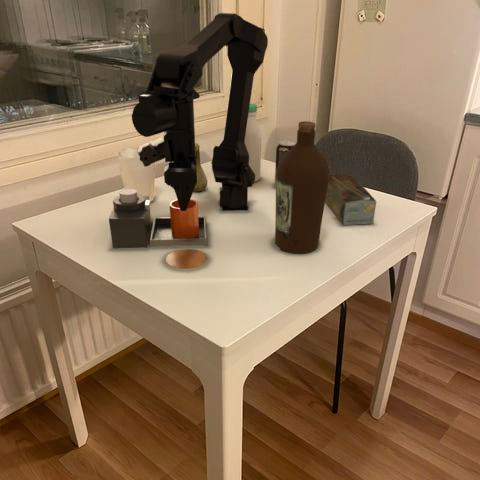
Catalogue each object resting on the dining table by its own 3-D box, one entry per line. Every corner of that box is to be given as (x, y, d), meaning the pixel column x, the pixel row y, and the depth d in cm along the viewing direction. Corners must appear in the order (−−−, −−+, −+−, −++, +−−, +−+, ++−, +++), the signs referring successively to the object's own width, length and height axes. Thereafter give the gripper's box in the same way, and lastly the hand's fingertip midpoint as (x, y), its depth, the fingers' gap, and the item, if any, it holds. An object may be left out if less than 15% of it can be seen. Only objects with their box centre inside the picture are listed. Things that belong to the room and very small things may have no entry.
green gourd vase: (194, 185, 135) (193, 141, 129) (211, 187, 134) (210, 142, 127) (186, 192, 131) (183, 146, 124) (202, 194, 130) (201, 148, 123)
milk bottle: (263, 176, 143) (266, 103, 132) (255, 184, 137) (257, 108, 126) (238, 173, 145) (239, 100, 134) (229, 181, 139) (229, 106, 128)
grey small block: (150, 208, 105) (149, 200, 104) (149, 213, 103) (148, 204, 102) (146, 208, 105) (146, 200, 104) (145, 213, 103) (144, 204, 102)
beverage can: (288, 181, 139) (291, 138, 132) (298, 188, 135) (302, 143, 128) (270, 184, 137) (273, 140, 130) (280, 191, 133) (283, 146, 126)
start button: (138, 197, 104) (137, 188, 103) (136, 204, 101) (135, 194, 100) (121, 198, 104) (120, 188, 103) (119, 204, 101) (118, 194, 100)
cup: (161, 194, 129) (158, 148, 122) (153, 206, 122) (149, 158, 115) (128, 192, 130) (123, 146, 123) (118, 205, 122) (112, 157, 116)
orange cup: (198, 228, 111) (197, 198, 107) (198, 239, 106) (197, 208, 102) (172, 228, 110) (170, 198, 106) (171, 239, 105) (169, 209, 101)
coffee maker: (151, 224, 113) (148, 188, 108) (146, 249, 102) (142, 210, 97) (121, 224, 112) (116, 189, 108) (113, 249, 102) (107, 211, 97)
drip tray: (206, 224, 113) (206, 216, 112) (207, 247, 104) (206, 238, 102) (154, 225, 113) (153, 217, 111) (150, 248, 103) (149, 239, 102)
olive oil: (306, 231, 111) (318, 115, 97) (330, 251, 103) (346, 127, 89) (264, 238, 108) (269, 118, 93) (284, 258, 100) (294, 131, 85)
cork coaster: (207, 250, 102) (207, 248, 102) (207, 270, 95) (207, 267, 95) (167, 251, 101) (166, 249, 101) (164, 270, 95) (164, 268, 94)
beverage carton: (341, 226, 114) (344, 199, 110) (319, 197, 129) (322, 172, 126) (373, 224, 114) (378, 197, 111) (348, 196, 130) (352, 171, 126)
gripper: (142, 115, 102) (149, 188, 111) (133, 138, 87) (141, 220, 96) (195, 115, 103) (198, 187, 112) (195, 138, 88) (198, 219, 96)
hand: (183, 202), depth 104 cm, fingers open, 9 cm apart
